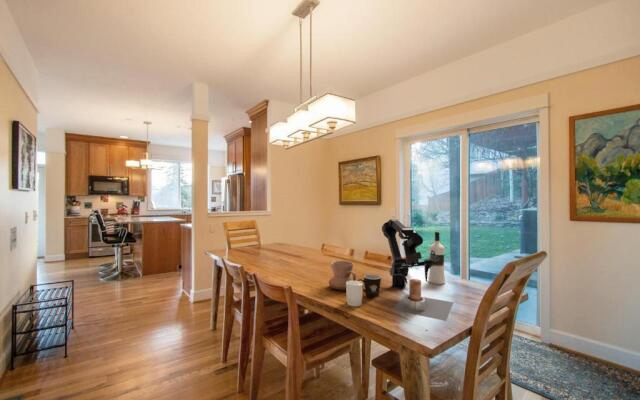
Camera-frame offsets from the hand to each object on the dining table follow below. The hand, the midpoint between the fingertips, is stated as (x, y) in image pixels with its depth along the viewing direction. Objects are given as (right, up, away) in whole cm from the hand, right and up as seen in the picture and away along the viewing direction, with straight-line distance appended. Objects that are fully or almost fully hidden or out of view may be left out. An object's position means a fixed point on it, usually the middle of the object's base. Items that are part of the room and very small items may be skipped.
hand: (416, 282), depth 143 cm
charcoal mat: (0, -9, -10) cm, 13 cm away
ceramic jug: (-35, -9, +18) cm, 40 cm away
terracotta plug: (-5, -8, -12) cm, 15 cm away
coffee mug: (-22, -9, +6) cm, 25 cm away
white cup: (-31, -9, -5) cm, 33 cm away
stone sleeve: (-5, -8, -12) cm, 15 cm away
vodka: (+22, -9, +31) cm, 39 cm away
